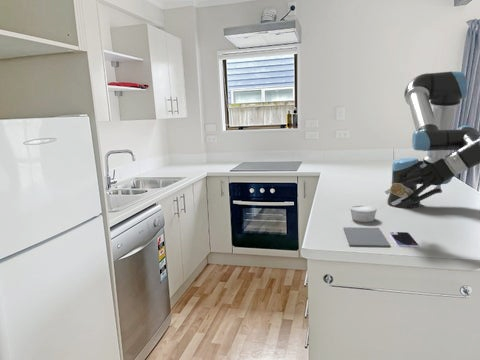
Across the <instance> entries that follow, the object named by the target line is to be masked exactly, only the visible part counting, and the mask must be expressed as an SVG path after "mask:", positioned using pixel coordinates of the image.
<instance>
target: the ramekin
mask: <svg viewBox="0 0 480 360" xmlns="http://www.w3.org/2000/svg"><path fill="white" fill-rule="evenodd" d="M349 209H350V215H351V218H352V220H353V221H355V222H358V223H370V222H371V223H372V222H373V221H374V220H375V219H376V213H377V210H378V209H377V208H376V207H374V206H371V205H361V204H360V205H352V206H350V208H349Z"/></svg>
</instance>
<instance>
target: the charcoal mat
mask: <svg viewBox="0 0 480 360" xmlns="http://www.w3.org/2000/svg"><path fill="white" fill-rule="evenodd" d="M343 231H344V235H345V238H346V240H347V243H348V246H349V247H365V248H366V247H368V248H370V247H371V248H372V247H373V248H376V247H377V248H391V247H392V246H391V244H390V242H389V241H388V239H387V237H385V235H384V233H383V232H382V230H381V229H380V227H350V226H349V227H347V226H345V227H343Z"/></svg>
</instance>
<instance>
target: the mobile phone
mask: <svg viewBox="0 0 480 360" xmlns="http://www.w3.org/2000/svg"><path fill="white" fill-rule="evenodd" d="M388 235H389V237H390V238H391V239H392V241H393V243H394V244H395V245H396V246H397V247H399V248H400V247H401V248H419V247H420V244H419V243H418V242H417V241H416V240H415V238H414V237H413V236H412V235H411V234H410V233H409V232H407V231H405V232H404V231H390V232H388Z"/></svg>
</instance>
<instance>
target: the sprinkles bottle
mask: <svg viewBox="0 0 480 360" xmlns="http://www.w3.org/2000/svg"><path fill="white" fill-rule="evenodd" d="M389 189H390V190H391V193H392V194H394V195H397V196H399V197H403V196H405V195H411V194H412V193H413V191H412V190H411V189H410V188H407V187H405V186H403V185H401V184H400V183H394V184H393V185H392V184H391V186H390V188H389Z"/></svg>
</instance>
